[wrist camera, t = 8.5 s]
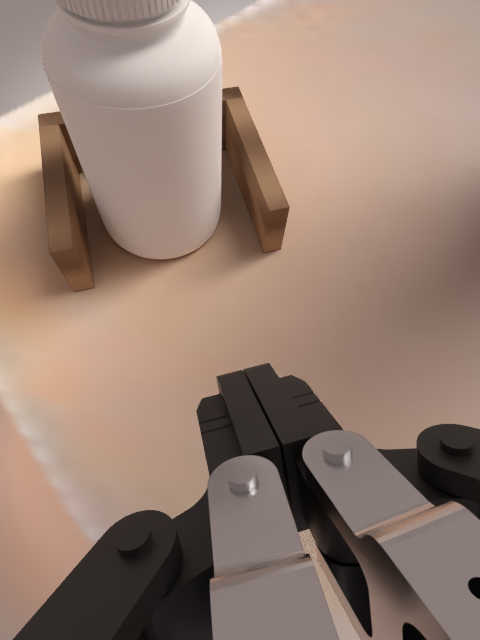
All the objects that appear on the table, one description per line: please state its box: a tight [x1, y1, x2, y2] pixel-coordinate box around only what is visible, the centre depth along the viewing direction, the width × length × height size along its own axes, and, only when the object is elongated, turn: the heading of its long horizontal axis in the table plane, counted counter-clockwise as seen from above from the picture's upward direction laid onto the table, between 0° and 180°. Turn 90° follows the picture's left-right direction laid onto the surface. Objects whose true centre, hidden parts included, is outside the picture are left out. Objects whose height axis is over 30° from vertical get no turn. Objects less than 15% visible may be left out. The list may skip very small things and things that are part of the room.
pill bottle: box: [42, 0, 222, 259], centre depth 21 cm, size 8×8×15 cm
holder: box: [38, 87, 289, 292], centre depth 27 cm, size 11×13×4 cm
